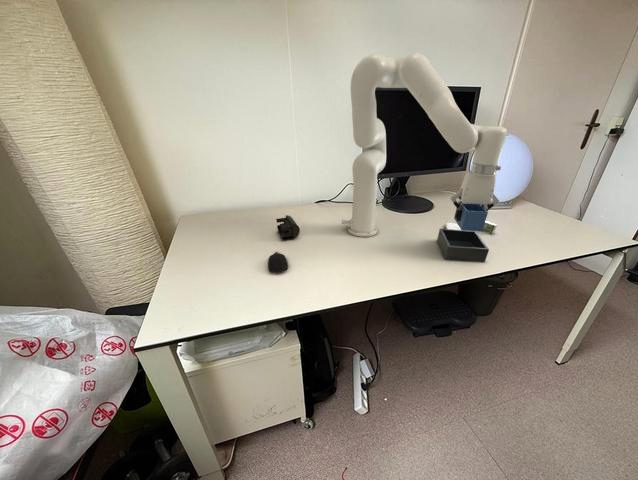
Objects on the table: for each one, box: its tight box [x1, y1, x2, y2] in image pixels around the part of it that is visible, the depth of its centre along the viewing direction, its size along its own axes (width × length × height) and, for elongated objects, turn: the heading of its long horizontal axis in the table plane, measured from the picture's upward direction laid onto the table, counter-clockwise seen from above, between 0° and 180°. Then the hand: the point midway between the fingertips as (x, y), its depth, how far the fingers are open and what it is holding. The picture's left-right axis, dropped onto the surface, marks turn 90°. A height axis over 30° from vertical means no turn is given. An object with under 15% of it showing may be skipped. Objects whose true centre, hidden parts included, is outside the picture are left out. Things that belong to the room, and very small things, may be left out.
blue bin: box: [453, 200, 489, 232], centre depth 98 cm, size 7×11×7 cm, turn 175°
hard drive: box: [444, 222, 461, 230], centre depth 120 cm, size 2×8×12 cm
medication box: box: [481, 220, 498, 235], centre depth 123 cm, size 12×3×4 cm, turn 38°
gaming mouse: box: [267, 251, 289, 274], centre depth 93 cm, size 6×15×4 cm, turn 16°
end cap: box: [275, 214, 301, 242], centre depth 111 cm, size 10×7×7 cm
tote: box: [436, 228, 490, 263], centre depth 105 cm, size 14×16×5 cm
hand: (468, 220), depth 99 cm, fingers closed on blue bin, 7 cm apart
